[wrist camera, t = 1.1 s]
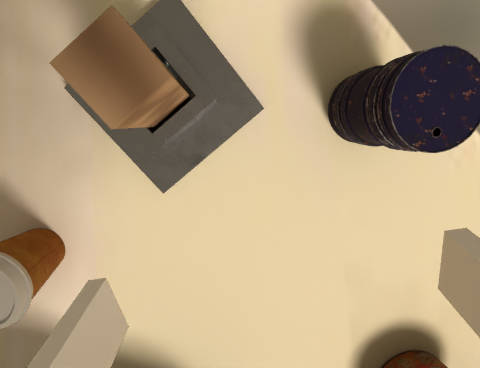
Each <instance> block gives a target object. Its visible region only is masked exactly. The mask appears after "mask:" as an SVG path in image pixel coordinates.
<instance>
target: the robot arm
mask: <svg viewBox="0 0 480 368" xmlns="http://www.w3.org/2000/svg"><path fill="white" fill-rule="evenodd" d="M438 289H439V290H440V291H441V293H442V294H443V295H444V296H445V297H446V299H447V300H448V301H449V302H450V303H451V304H452V306H453V307H454V308H455V309H456V310H457V312H458V313H459V314H460V315H461V316H462V318H463V319H464V320H465V321H466V322H467V323H468V325H469V326H470V327H471V328H472V329H473V331H474V332H475V333H476V334H477V335H478V336H479V338H480V238H479V237H478V236H476V235H475V234H474V233H472V232H471V231H470V230H469V229H467V228H462V229H455V230H448V231H444V240H443V248H442V257H441V266H440V275H439V284H438ZM128 327H129V326H128V324H127V322H126V319H125V317H124V315H123V313H122V311H121V309H120V306H119V304H118V302H117V300H116V298H115V296H114V294H113V291H112V289H111V287H110V285H109V283H108V281H107V278H102V279H95V280H88V282H87V283H86V285H85V286H84V288H83V289H82V290H81V292H80V293H79V295H78V296H77V297H76V299H75V300H74V302H73V303H72V304H71V306H70V307H69V309H68V310H67V311H66V313H65V314H64V316H63V317H62V319H61V320H60V321H59V323H58V324H57V326H56V327H55V328H54V330H53V331H52V333H51V334H50V335H49V337H48V338H47V340H46V341H45V343H44V344H43V345H42V347H41V348H40V350H39V351H38V352H37V354H36V355H35V357H34V358H33V359H32V361H31V362H30V364H29V365H28V366H27V368H111V366H112V364H113V361H114V359H115V357H116V354H117V352H118V350H119V348H120V345H121V343H122V341H123V338H124V336H125V334H126V331H127V329H128Z"/></svg>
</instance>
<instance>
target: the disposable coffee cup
mask: <svg viewBox="0 0 480 368" xmlns="http://www.w3.org/2000/svg"><path fill="white" fill-rule="evenodd" d="M64 256H65V246H64V243H63V241H62V240H61V238H60V237H59V236H58V235H57V234H56V233H54V232H52V231H50V230H47V229H33V230H30V231H28V232H25V233H22V234H20V235H17V236H14V237H12V238H9V239H6V240H4V241H1V242H0V329H2V328H5V327H7V326H10V325H12V324H13V323H15V322H17V321H18V320H19V319H21V318H22V316H23V315H24V314H25V313H26V311H27V309H28V308H29V306H30V303H31V300H32V299H33V297H34V296H35V295H36V293H37V292H38V291H39V289H40V288H41V287H42V286H43V284H44V283H45V282H46V280H47V279H48V278H49V277H50V275H51V274H52V273H53V272H54V270H55V269H56V268H57V267H58V265H59V264H60V263H61V262H62V260H63V258H64Z"/></svg>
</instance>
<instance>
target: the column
mask: <svg viewBox="0 0 480 368" xmlns="http://www.w3.org/2000/svg"><path fill="white" fill-rule="evenodd" d="M50 64H51V65H52V66H53V67H54V68H55V69H56V70H57V71H58V73H59V74H60V75H61V76H62V77H63V78H64V79H65V80H66V81H67V82H68V83H69V84H70V85H71V87H72V88H73V89H74V90H75V91H76V92H77V93H78V94H79V95H80V96H81V97H82V98H83V99H84V101H85V102H86V103H87V104H88V105H89V106H90V107H91V108H92V109H93V110H94V111H95V112H96V113H97V114H98V116H99V117H100V118H101V119H102V120H103V121H104V122H105V123H106V124H107V125H108V126H109V127H110V128H111V129H125V128H142V127H161V126H162V125H163V124H164V123H165V122H166V121H168V120H169V119H170V118H171V117H172V116H173V115H174V114H176V113H177V112H178V111H179V110H180V109H181V108H183V107H184V106H185V105H186V104H187V103H188V102H189V101H191V100H192V99H193V97H192V96H191V95H190V94H189V92H188V91H187V90H186V89H185V88H184V86H183V85H182V84H181V83H180V82H179V80H178V79H177V78H176V77H175V75H174V74H173V73H172V72H171V71H170V69H169V68H168V67H167V66H166V65H165V63H162V61H161V60H160V59H159V58H158V57H157V56H156V55H155V53H154V52H153V51H152V50H151V49H150V48H149V47H148V46H147V44H146V43H145V42H144V41H143V40H142V39H141V38H140V36H139V35H138V34H137V33H136V32H135V31H134V30H133V29H132V27H131V26H130V25H129V24H128V23H127V22H126V21H125V19H124V18H123V17H122V16H121V15H120V14H119V13H118V12H117V10H116V9H115V8H114V7H113V6H111V7H110V8H108V9H107V10H106V11H105V12H104V13H103V14H102V15H101V16H100V17H99V18H98V19H97V20H95V21H94V22H93V23H92V24H91V25H90V26H89V27H88V28H87V29H86V30H85V31H83V32H82V33H81V34H80V35H79V36H78V37H77V38H76V39H75V40H74V41H73V42H72V43H70V44H69V45H68V46H67V47H66V48H65V49H64V50H63V51H62V52H61V53H60V54H59V55H57V56H56V57H55V58H54V59H53V60H52V61H51V62H50Z"/></svg>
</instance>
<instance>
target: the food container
mask: <svg viewBox="0 0 480 368" xmlns="http://www.w3.org/2000/svg"><path fill="white" fill-rule="evenodd" d="M383 368H447V367H446V366H445V365H444V364H443V363H442V362H440V361H439V360H438V359H437V358H436V357H434V356H433V355H431V354H430V353H427V352H424V351H408V352H404V353H401V354H399V355H397V356H395V357H394V358H392V359H391V360H390V361H388V362H387V363H386V364H385V365H384V366H383Z"/></svg>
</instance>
